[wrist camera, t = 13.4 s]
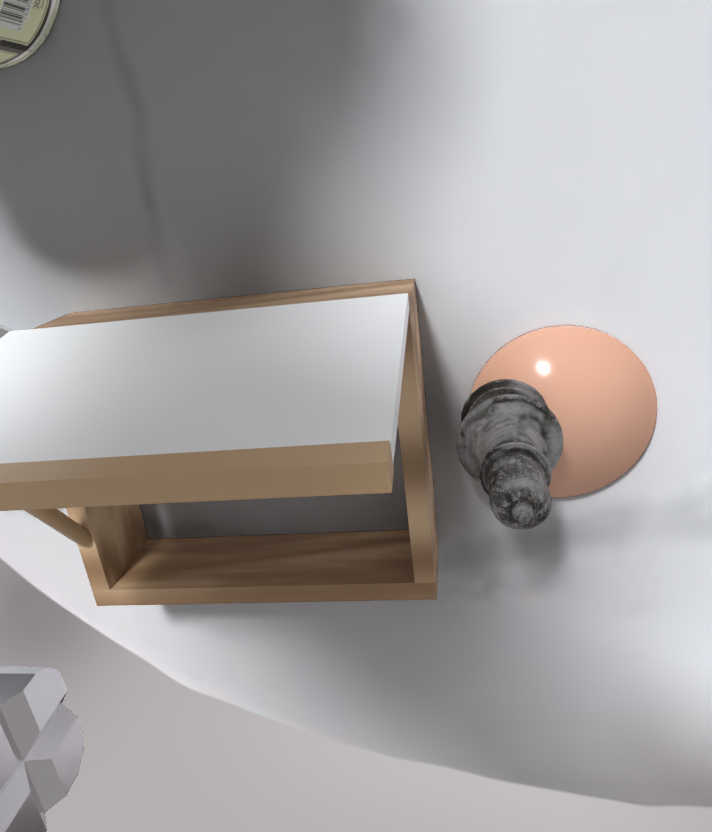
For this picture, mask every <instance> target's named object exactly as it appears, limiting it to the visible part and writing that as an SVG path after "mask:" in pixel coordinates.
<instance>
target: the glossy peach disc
mask: <svg viewBox="0 0 712 832" xmlns="http://www.w3.org/2000/svg"><path fill="white" fill-rule="evenodd" d="M500 379H514V380H518V381H521V382H525V383H527V384H528V385H530V386H532V387H533V388H535V389H536V390H537V391H538V392H539V393H540V394H541V395H542V396H543V398H544V400H545V402H546V404H547V406H548V408H549V409H550V410H551V411H552V412H553V413H554V414H555V416H556V418H557V420H558V422H559V424H560V425H561V428H562V433H563V439H564V441H563V451H562V454H561V456H560V459H559V461H558V464H557V465H556V466H555V468H554V469H553V470H552V477H551V483H550V485H549V491H550V495H551V497H571V496H577V495H582V494H586V493H589V492H592V491H595V490H597V489H600V488H602V487H604V486H606V485H608V484H610V483H611V482H613V481H615V480H616V479H618V478H619V477H620V476H622V475H623V474H624V473H625V472H627V471H628V470H629V469H630V468H631V467H632V466H633V465H634V464H635V463H636V461H637V460H638V459H639V458H640V456H641V455H642V454H643V452H644V450H645V449H646V447H647V445H648V443H649V441H650V439H651V436H652V434H653V431H654V427H655V423H656V416H657V398H656V393H655V388H654V385H653V382H652V379H651V377H650V375H649V373H648V371H647V369H646V367H645V366H644V365H643V363H642V362H641V361H640V359H639V358H638V357H637V356H636V355H635V354H634V353H633V352H632V351H631V350H630V349H629V348H628V347H627V346H626V345H625V344H623V343H622V342H621V341H619V340H618V339H616V338H614V337H613V336H611V335H609V334H607V333H604V332H602V331H599V330H596V329H593V328H588V327H584V326H576V325H556V326H549V327H544V328H540V329H536V330H533V331H530V332H528V333H525V334H523V335H520V336H519V337H517V338H515V339H513V340H511V341H510V342H508V343H507V344H506V345H504V346H503V347H501V348H500V349H499V350H498V351H497V352H496V353H495V354H494V355H493V356H492V357H491V358H490V359H489V360H488V361H487V362H486V364H485V365H484V366H483V368H482V369H481V371H480V372H479V374H478V376H477V378H476V380H475V382H474V384H473V386H472V390H471V393H470V395H471V394H472V393H473V392H474V391H475V390H477V389H478V388H479V387H480V386H482V385H484V384H486V383H488V382H491V381H495V380H500Z"/></svg>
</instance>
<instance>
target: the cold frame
mask: <svg viewBox="0 0 712 832" xmlns="http://www.w3.org/2000/svg"><path fill="white" fill-rule="evenodd" d="M403 293H408V300H409V317H408V327H407V337H406V347H405V356H404V366H403V376H402V386H401V395H400V405H399V415H398V431H399V440H400V449H401V458H402V468H403V477H404V486H405V496H406V505H407V514H408V524H409V530H387V531H360V532H332V533H305V534H278V535H251V536H223V537H196V538H169V539H148V535H147V531H146V528H145V524H144V520H143V517H142V513H141V509H140V506H139V504H138V505H116V506H95V507H73V508H66V509H67V512H68V515H69V517H70V518H71V519H72V520H74V521H75V522H77V523H78V524H80V525H81V526H83V527H84V528H86V529H87V530H88V531H89V533H90V534H91V536H92V539H93V542H92V544H91V545H89V546H87V547H82V546H80V545H78V547H79V550H80V553H81V556H82V559H83V562H84V566H85V569H86V572H87V575H88V578H89V581H90V585H91V588H92V591H93V594H94V597H95V600H96V604H97V606H109V605H161V604H214V603H266V602H318V601H371V600H423V599H437V576H438V533H437V522H436V511H435V500H434V489H433V478H432V467H431V455H430V444H429V433H428V422H427V411H426V400H425V389H424V378H423V367H422V355H421V344H420V333H419V322H418V311H417V300H416V289H415V279H406V280H396V281H386V282H376V283H366V284H356V285H346V286H336V287H326V288H316V289H306V290H296V291H286V292H276V293H266V294H256V295H246V296H235V297H225V298H215V299H205V300H195V301H185V302H175V303H165V304H155V305H145V306H135V307H125V308H115V309H105V310H95V311H85V312H75V313H68V314H66V315H64V316H62V317H59V318H57V319H55V320H52V321H50V322H48V323H45V324H43V325H41V326H39V327H36V328H34V329H39V328H49V327H60V326H70V325H81V324H91V323H101V322H112V321H122V320H133V319H143V318H153V317H164V316H174V315H185V314H195V313H205V312H216V311H226V310H237V309H247V308H258V307H268V306H278V305H289V304H299V303H310V302H320V301H330V300H341V299H351V298H362V297H372V296H382V295H393V294H403Z"/></svg>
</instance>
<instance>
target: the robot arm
mask: <svg viewBox="0 0 712 832" xmlns="http://www.w3.org/2000/svg"><path fill="white" fill-rule="evenodd" d="M67 691H68V690H67V687H66V685H65V683H64V681H63V679H62V676H61V674H60V672H59V670H55V669H51V668H47V667H0V832H46V831H47V828H46V817H45V812H46V811H48V810H49V809H50V808H51V807H53V806H54V805H55V804H56V803H58V802H59V801H60V800H62V799H63V798H64V797H65V796H67V793H68V792H69V790H70V788H71V786H72V784H73V783H74V781H75V779H76V777H77V775H78V772H79V768H80V764H81V759H82V756H83V752H84V741H83V730H82V727H81V725H80V722H79V719H78V716H77V715H75V714H74V713H73V712H72V711H71V710H69V709H68V708H67V707H66V706H65V705H63V704H62V702H63V700H64V697H65V695H66V693H67Z"/></svg>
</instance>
